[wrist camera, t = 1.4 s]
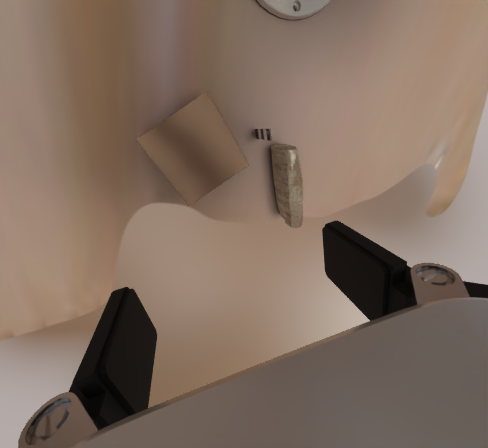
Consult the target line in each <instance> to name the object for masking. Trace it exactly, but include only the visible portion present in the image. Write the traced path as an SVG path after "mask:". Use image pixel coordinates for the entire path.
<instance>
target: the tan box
mask: <svg viewBox="0 0 488 448" xmlns="http://www.w3.org/2000/svg"><path fill="white" fill-rule="evenodd" d="M136 140H137V142H138V143H139V144H140V146H141V147H142V148H143V149H144V151H145V152H146V153H147V154H148V156H149V157H150V158H151V159H152V161H153V162H154V163H155V164H156V166H157V167H158V168H159V169H160V171H161V172H162V173H163V174H164V176H165V177H166V178H167V179H168V181H169V182H170V183H171V185H172V186H173V187H174V188H175V190H176V191H177V192H178V193H179V195H180V196H181V197H182V198H183V200H184V201H185V202H186V203H187V205H188V206H189V205H191V204H192V203H194V202H195V201H197V200H198V199H200V198H201V197H203V196H204V195H206V194H207V193H208V192H210V191H211V190H213V189H214V188H216V187H217V186H219V185H220V184H222V183H223V182H225V181H226V180H228V179H229V178H230V177H232V176H233V175H235V174H236V173H238V172H239V171H241V170H242V169H244V168H245V167H247V166H248V165H249V163H248V162H247V160H246V158H245V156H244V155H243V153H242V151H241V150H240V148H239V146H238V144H237V143H236V141H235V139H234V138H233V136H232V134H231V132H230V131H229V129H228V127H227V125H226V124H225V122H224V120H223V119H222V117H221V115H220V113H219V112H218V110H217V108H216V107H215V105H214V103H213V101H212V100H211V98H210V96H209V95H208V93H207V91H206V92H205V93H203V94H202V95H200V96H199V97H197V98H196V99H194V100H193V101H192V102H190V103H189V104H187V105H186V106H184V107H183V108H181V109H180V110H178V111H177V112H176V113H174V114H173V115H171V116H170V117H168V118H167V119H165V120H164V121H162V122H161V123H160V124H158V125H157V126H155V127H154V128H152V129H151V130H149V131H148V132H146V133H145V134H144V135H142V136H141V137H139V138H138V139H136Z"/></svg>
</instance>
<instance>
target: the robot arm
mask: <svg viewBox="0 0 488 448" xmlns="http://www.w3.org/2000/svg"><path fill="white" fill-rule="evenodd" d="M257 1H258V3H259V4H260V5H261V6H263V7H264V8H265V9H266V10H268V11H269V12H270V13H272V14H274V15H276V16H278V17H280V18H285V19H289V20H296V19H303V18H307V17H310V16H312V15H313V14H315V13H317V12H318V11H320V10H321V9H322V8H323V7H325V6H326V5H327V4H328V3H329V2H330V1H331V0H257ZM293 8H294V9H295V11H294V9H293ZM322 231H323V247H324V262H325V272H326V275H327V276H328V278H329V279H330V280H331V281H332V282H333V283H334V284H335V285H336V286H337V287H338V288H339V289H340V290H341V291H342V292H343V293H344V294H345V295H346V296H347V297H348V298H349V299H350V300H351V301H352V302H353V303H354V304H355V306H356V307H357V308H358V309H359V310H360V311H362V313H363V314H364V315H365V316H366V317H367V318H368V319H369V320H370V321H369V322H367V323H364V324H361V325H359V326H356V327H353V328H351V329H348V330H346V331H343V332H341V333H338V334H335V335H333V336H330V337H327V338H325V339H322V340H320V341H317V342H314V343H312V344H309V345H307V346H304V347H301V348H299V349H297V350H294V351H291V352H289V353H286V354H283V355H281V356H278V357H276V358H273V359H271V360H268V361H266V362H263V363H260V364H258V365H255V366H253V367H250V368H248V369H245V370H242V371H240V372H237V373H235V374H232V375H230V376H227V377H225V378H222V379H220V380H217V381H215V382H212V383H210V384H207V385H205V386H202V387H200V388H197V389H195V390H192V391H190V392H187V393H184V394H182V395H180V396H177V397H174V398H172V399H170V400H167V401H165V402H162V403H160V404H158V405H155V406H153V407H150V408H148V403H149V396H150V388H151V379H152V372H153V365H154V357H155V349H156V341H157V333H156V329H155V327H154V326H153V324H152V322H151V320H150V318H149V316H148V314H147V312H146V311H145V309H144V307H143V305H142V303H141V302H140V300H139V298H138V296H137V294H136V292H135V291H134V289H129V288H128V287H125V288H122V289H118V290H115V291H113V292H112V293H111V296H110V298H109V300H108V303H107V305H106V307H105V309H104V312H103V314H102V316H101V319H100V321H99V323H98V325H97V328H96V330H95V332H94V335H93V337H92V339H91V341H90V344H89V346H88V348H87V351H86V353H85V355H84V357H83V359H82V362H81V364H80V366H79V369H78V371H77V373H76V375H75V378H74V380H73V383H72V385H71V387H70V390H69V392H66V393H62V394H59V395H58V396H56V397H54V398H52V399H50V400H49V401H48V402H47V403H45V404H44V405H43V406H42V407H41V408H40V409H39V410H37V411H36V412H35V413H34V415H33V416H32V417H31V418H30V420H29V421H28V422H27V424H26V425H25V427H24V429H23V431H22V432H21V435H20V438H19V441H18V444H19V445H18V446H19V447H18V448H488V285H485V284H478V283H471V282H464V281H462V279H461V277H460V276H459V274H458V273H456V272H455V271H454V270H452V269H450V268H448V267H445V266H443V265H439V264H434V263H421V264H417V265H415V266H413V267H412V268H411V267H409V266H407V262H406V261H404V260H403V259H401V258H400V257H398V256H396V255H395V254H393V253H391V252H390V251H388V250H386V249H385V248H383V247H381V246H380V245H378V244H376V243H374V242H373V241H371V240H370V239H368V238H366V237H364V236H363V235H361V234H359V233H358V232H356V231H354V230H353V229H351V228H349V227H348V226H346V225H344V224H343V223H341V222H339V221H333V222H330V223H327V224H326V225H325V227H324V228H323V229H322Z"/></svg>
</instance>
